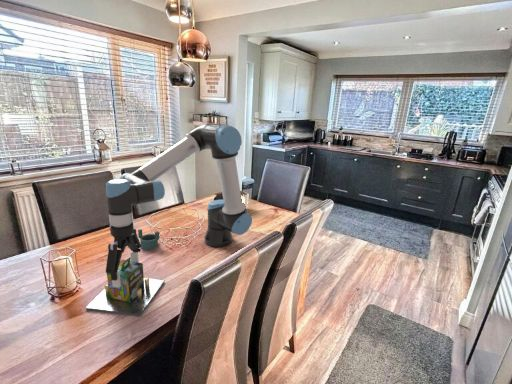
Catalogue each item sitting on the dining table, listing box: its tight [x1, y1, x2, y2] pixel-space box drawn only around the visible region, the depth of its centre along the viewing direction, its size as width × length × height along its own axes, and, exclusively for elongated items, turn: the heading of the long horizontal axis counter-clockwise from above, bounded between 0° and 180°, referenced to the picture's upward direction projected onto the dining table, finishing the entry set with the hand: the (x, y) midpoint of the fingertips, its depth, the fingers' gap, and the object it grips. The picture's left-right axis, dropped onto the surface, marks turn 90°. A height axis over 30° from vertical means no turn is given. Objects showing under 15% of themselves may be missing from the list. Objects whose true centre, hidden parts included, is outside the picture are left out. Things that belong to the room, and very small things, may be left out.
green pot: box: [137, 229, 160, 251], centre depth 142 cm, size 9×9×9 cm
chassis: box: [85, 277, 165, 317], centre depth 106 cm, size 20×20×6 cm
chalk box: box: [106, 256, 145, 303], centre depth 104 cm, size 9×9×15 cm
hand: (126, 276), depth 104 cm, fingers open, 12 cm apart
